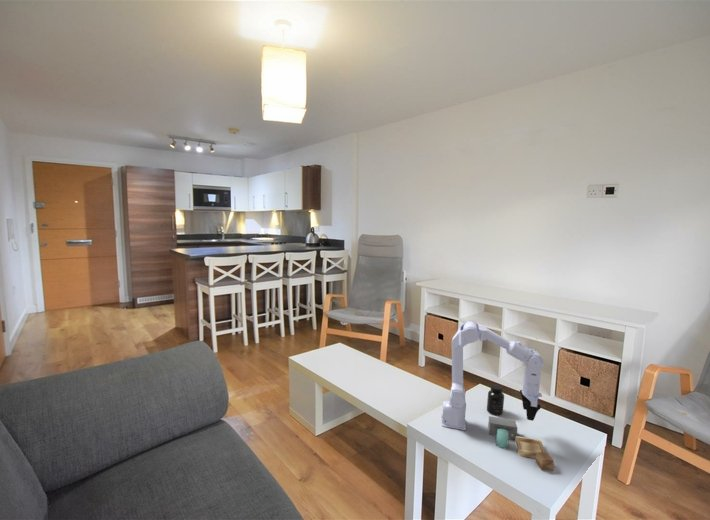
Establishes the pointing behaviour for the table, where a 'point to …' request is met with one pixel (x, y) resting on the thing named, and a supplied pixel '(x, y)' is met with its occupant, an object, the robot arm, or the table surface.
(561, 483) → the table surface
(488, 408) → the supplement bottle
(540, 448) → the birch tray
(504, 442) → the teal peg
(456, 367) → the robot arm
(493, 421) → the gray block
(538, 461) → the walnut block
